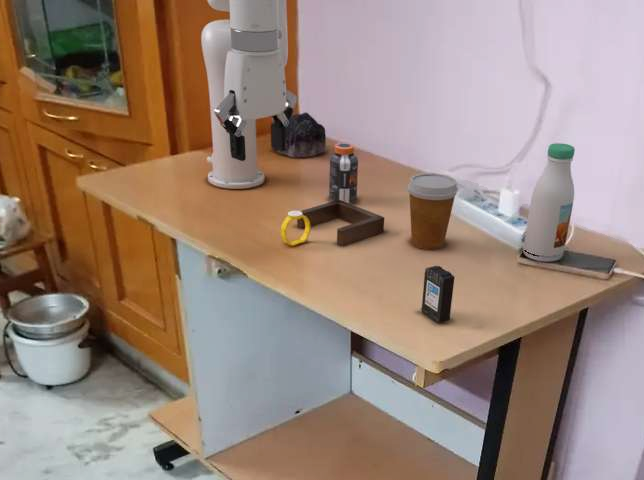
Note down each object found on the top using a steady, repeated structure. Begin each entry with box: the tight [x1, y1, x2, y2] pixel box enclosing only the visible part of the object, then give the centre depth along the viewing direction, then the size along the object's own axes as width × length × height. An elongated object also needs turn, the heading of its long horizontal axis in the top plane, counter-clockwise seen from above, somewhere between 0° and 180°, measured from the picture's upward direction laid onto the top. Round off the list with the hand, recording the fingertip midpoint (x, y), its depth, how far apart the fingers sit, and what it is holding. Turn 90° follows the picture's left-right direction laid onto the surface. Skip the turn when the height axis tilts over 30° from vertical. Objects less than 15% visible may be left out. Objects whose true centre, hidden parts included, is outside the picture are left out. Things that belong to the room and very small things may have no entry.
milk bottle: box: [522, 142, 576, 263], centre depth 156 cm, size 8×8×20 cm
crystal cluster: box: [272, 111, 327, 159], centre depth 205 cm, size 13×14×10 cm
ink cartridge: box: [420, 265, 455, 324], centre depth 137 cm, size 5×2×8 cm, turn 32°
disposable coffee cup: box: [406, 172, 459, 250], centre depth 160 cm, size 10×10×12 cm
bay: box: [296, 200, 385, 247], centre depth 167 cm, size 13×12×3 cm
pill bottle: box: [328, 142, 359, 204], centre depth 178 cm, size 6×6×11 cm
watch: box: [280, 210, 312, 247], centre depth 159 cm, size 6×3×6 cm, turn 128°
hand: (258, 153), depth 145 cm, fingers open, 8 cm apart
